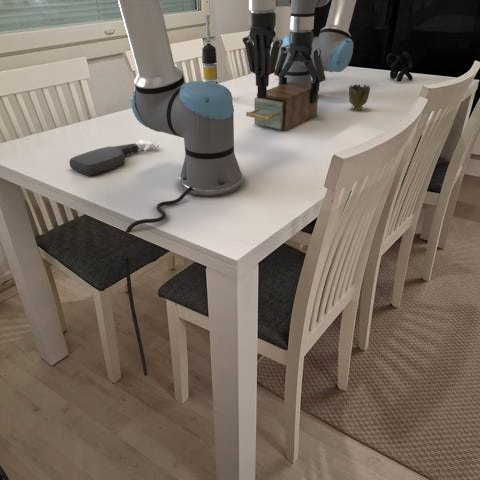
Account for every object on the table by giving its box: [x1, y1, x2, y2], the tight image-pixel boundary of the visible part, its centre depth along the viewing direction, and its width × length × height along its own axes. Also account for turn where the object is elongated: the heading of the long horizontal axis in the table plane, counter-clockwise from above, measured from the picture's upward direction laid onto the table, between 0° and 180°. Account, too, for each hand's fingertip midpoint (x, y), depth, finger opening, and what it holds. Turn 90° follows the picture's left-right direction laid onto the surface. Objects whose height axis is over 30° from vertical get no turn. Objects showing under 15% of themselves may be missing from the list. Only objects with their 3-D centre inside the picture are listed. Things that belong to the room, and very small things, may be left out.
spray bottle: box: [68, 139, 160, 177], centre depth 124 cm, size 3×11×24 cm
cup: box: [348, 84, 371, 111], centre depth 160 cm, size 7×7×8 cm
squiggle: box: [385, 51, 414, 83], centre depth 198 cm, size 11×10×15 cm
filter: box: [201, 14, 219, 84], centre depth 171 cm, size 6×6×30 cm
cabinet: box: [256, 82, 319, 132], centre depth 151 cm, size 20×11×10 cm, turn 142°
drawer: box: [245, 97, 284, 130], centre depth 147 cm, size 25×10×8 cm, turn 142°
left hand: (262, 97), depth 137 cm, fingers closed
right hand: (297, 99), depth 155 cm, fingers closed on cabinet, 11 cm apart
